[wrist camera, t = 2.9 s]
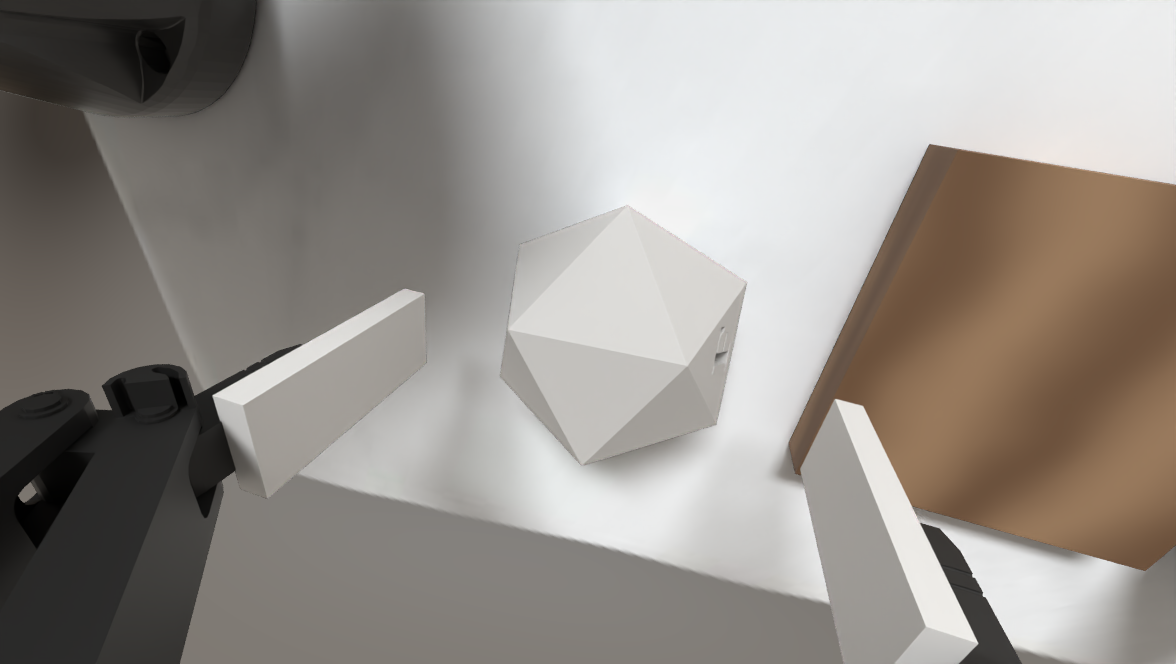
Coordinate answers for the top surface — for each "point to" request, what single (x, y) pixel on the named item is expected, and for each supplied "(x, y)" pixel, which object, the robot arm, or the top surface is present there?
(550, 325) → the die
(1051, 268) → the walnut board
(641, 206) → the top surface
